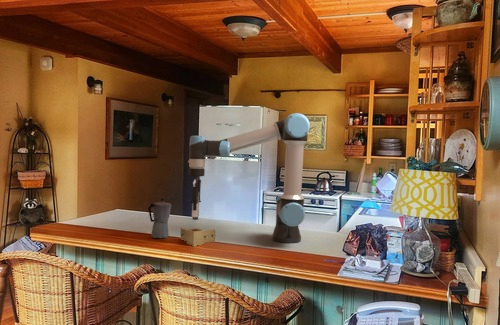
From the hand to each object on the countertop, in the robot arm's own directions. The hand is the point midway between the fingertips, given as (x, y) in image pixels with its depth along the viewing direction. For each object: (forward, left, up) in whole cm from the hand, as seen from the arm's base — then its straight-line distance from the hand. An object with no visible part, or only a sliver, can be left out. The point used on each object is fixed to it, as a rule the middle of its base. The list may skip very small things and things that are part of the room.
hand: (195, 216), depth 195 cm
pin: (0, 0, -2) cm, 2 cm away
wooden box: (+4, -5, -14) cm, 15 cm away
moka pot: (+23, +6, -14) cm, 27 cm away
